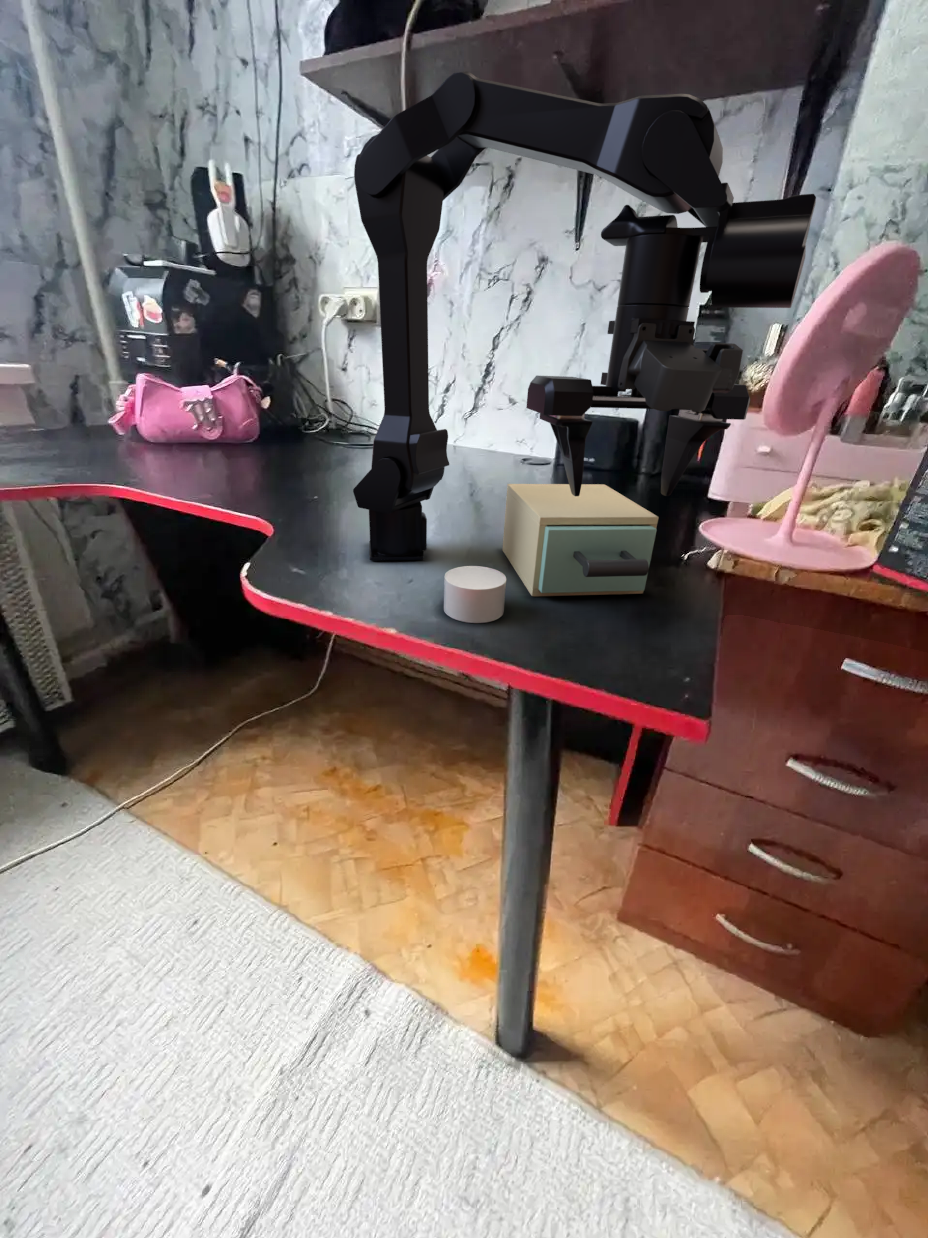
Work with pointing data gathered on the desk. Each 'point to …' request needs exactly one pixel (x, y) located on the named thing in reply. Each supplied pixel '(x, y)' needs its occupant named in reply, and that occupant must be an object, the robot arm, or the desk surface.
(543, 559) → the drawer
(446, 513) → the desk surface
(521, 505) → the cabinet
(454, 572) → the cylinder
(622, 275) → the robot arm
